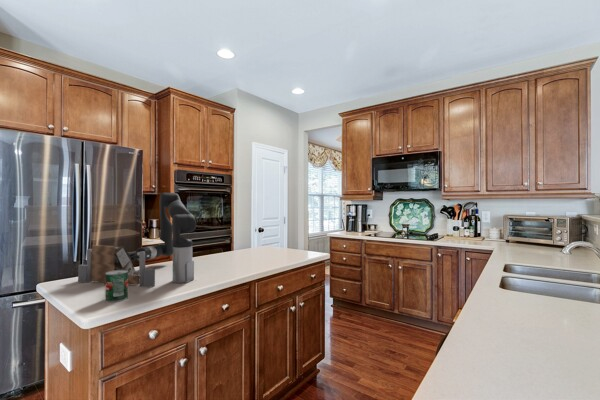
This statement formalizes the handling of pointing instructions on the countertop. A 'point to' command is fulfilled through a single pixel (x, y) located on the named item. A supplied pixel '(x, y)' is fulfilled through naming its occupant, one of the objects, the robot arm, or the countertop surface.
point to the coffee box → (123, 260)
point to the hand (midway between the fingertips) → (124, 258)
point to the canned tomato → (116, 285)
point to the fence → (144, 274)
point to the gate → (106, 264)
